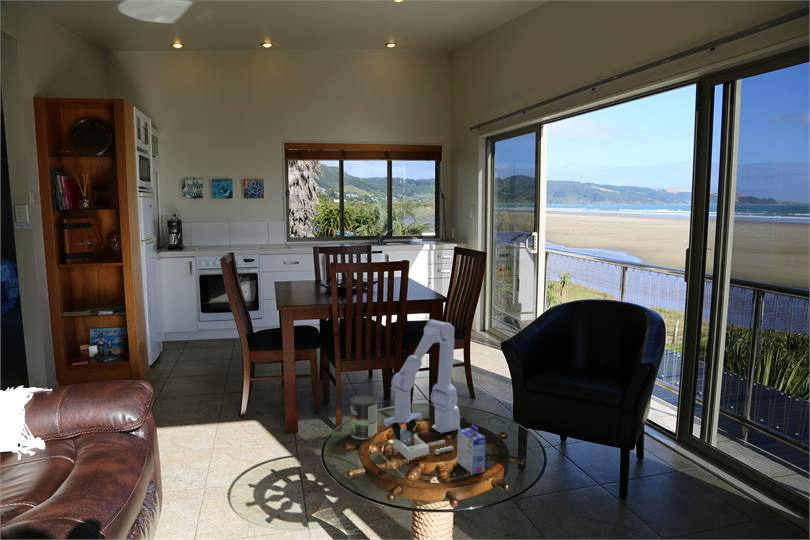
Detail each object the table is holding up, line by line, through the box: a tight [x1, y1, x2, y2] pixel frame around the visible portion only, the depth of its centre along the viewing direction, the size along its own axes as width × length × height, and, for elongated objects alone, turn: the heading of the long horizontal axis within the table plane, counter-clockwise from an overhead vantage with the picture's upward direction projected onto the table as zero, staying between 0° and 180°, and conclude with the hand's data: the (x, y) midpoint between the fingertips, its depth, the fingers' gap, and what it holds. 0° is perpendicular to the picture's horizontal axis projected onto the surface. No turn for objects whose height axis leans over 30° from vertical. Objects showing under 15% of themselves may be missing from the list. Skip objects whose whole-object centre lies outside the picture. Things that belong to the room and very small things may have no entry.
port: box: [392, 434, 430, 461], centre depth 206 cm, size 10×11×4 cm
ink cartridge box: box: [456, 424, 487, 475], centre depth 194 cm, size 10×6×14 cm, turn 27°
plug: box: [400, 428, 412, 447], centre depth 212 cm, size 4×5×5 cm
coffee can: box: [349, 394, 378, 441], centre depth 222 cm, size 10×10×14 cm
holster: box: [426, 439, 454, 453], centre depth 208 cm, size 7×7×2 cm
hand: (403, 440), depth 212 cm, fingers closed on plug, 4 cm apart
